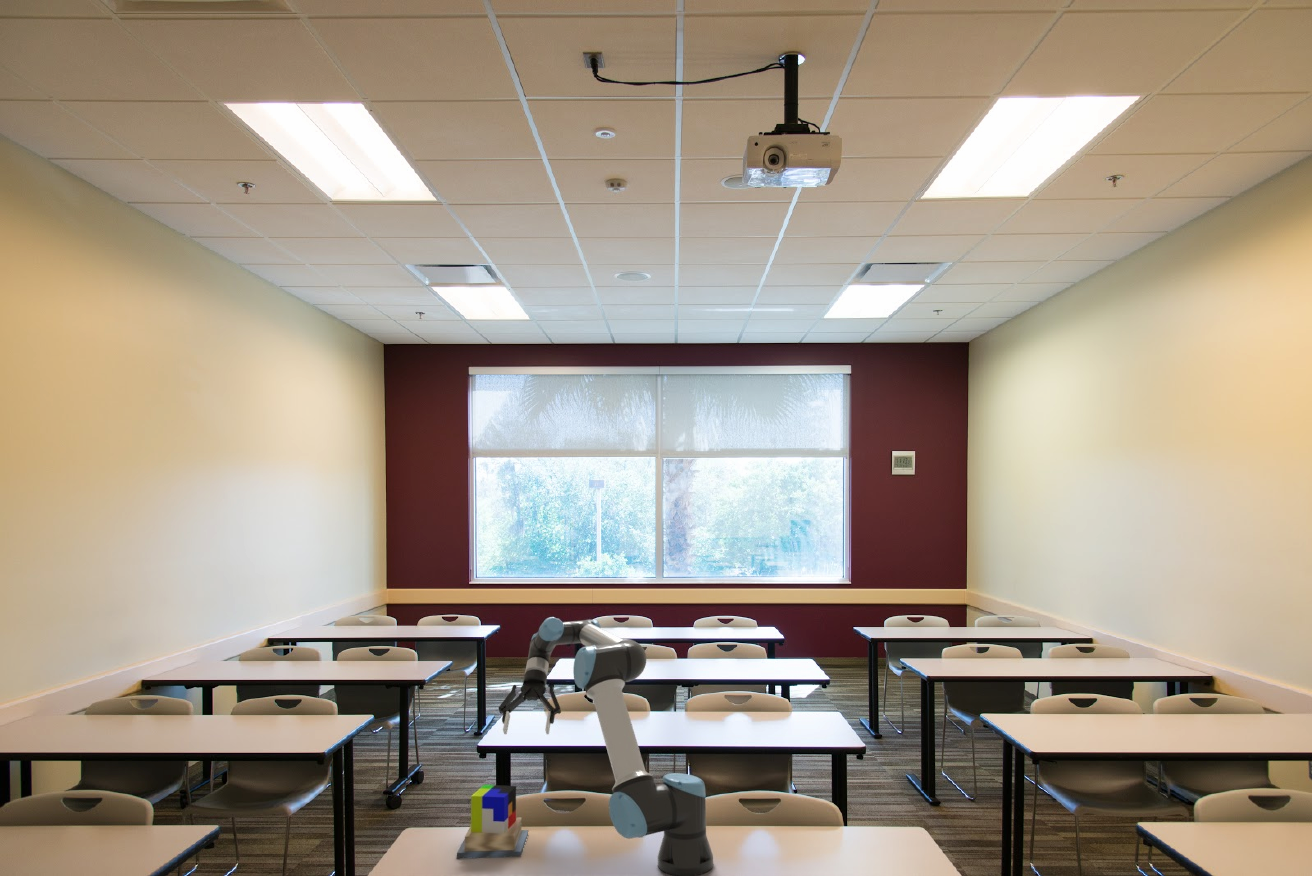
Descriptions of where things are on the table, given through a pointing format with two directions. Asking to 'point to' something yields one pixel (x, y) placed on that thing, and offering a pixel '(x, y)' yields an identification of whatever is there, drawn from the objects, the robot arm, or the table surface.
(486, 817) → the puzzle toy
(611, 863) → the table surface
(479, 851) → the foundation block
